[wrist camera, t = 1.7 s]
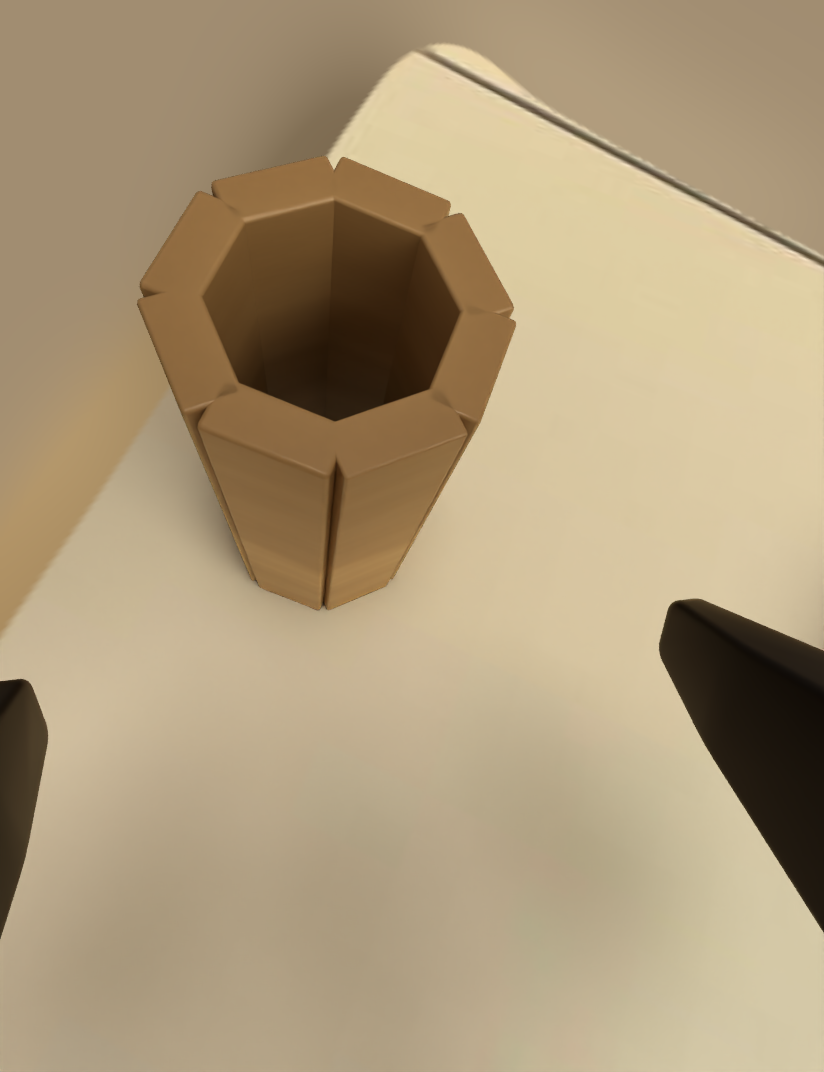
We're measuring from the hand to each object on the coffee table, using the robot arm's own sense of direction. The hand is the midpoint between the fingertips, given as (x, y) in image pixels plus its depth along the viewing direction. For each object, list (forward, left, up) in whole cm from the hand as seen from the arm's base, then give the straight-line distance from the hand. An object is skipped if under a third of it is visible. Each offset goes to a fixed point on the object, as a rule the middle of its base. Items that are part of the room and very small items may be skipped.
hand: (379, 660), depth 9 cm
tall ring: (+6, -2, -12) cm, 14 cm away
